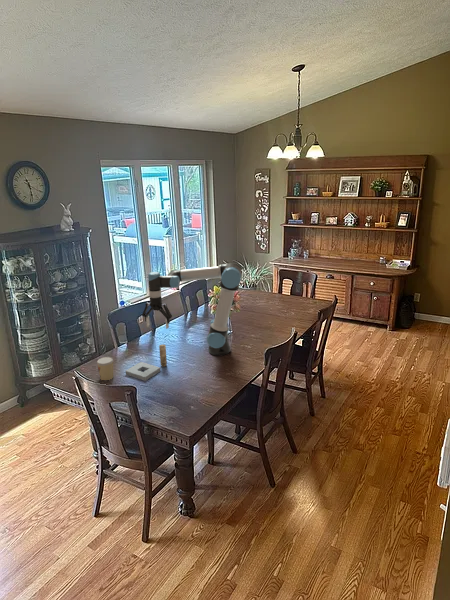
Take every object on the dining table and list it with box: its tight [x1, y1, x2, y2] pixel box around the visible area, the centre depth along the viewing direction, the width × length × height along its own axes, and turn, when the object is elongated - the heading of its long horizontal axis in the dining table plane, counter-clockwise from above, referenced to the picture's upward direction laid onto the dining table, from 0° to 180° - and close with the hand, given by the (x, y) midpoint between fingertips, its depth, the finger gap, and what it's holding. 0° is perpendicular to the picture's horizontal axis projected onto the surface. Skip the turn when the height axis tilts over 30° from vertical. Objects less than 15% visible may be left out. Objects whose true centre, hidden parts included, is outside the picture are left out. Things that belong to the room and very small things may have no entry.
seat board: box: [125, 361, 161, 382], centre depth 253 cm, size 16×14×2 cm
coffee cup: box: [96, 356, 114, 381], centre depth 247 cm, size 9×9×12 cm
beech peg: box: [158, 344, 168, 368], centre depth 260 cm, size 4×4×14 cm
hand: (157, 327), depth 265 cm, fingers open, 13 cm apart
